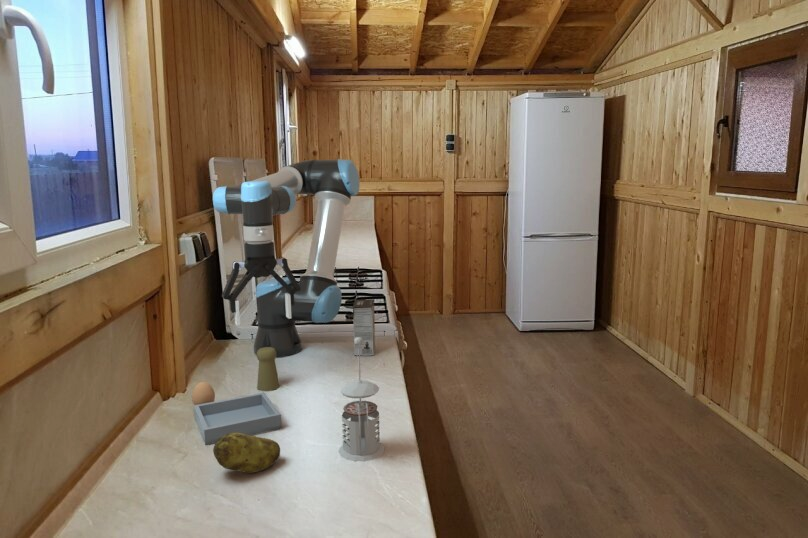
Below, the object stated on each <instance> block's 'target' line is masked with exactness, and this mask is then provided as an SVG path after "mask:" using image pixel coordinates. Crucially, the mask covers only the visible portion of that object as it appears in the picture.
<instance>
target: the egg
mask: <svg viewBox="0 0 808 538" xmlns="http://www.w3.org/2000/svg"><path fill="white" fill-rule="evenodd" d="M215 399H216V394H215V390H214V388H213V386H212V385H211V384H210V383H208V382H207V381H201V382H198V383H196V385H195V386H194V388H193V389H192V394H191V401H192V404H193V406H194V405H199V404H205V403H210V402H215Z"/></svg>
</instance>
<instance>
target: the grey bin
mask: <svg viewBox="0 0 808 538" xmlns="http://www.w3.org/2000/svg"><path fill="white" fill-rule="evenodd" d="M193 416H194V421H195V423H197V424H196V425H197V428H198V431H199V430H200V431H199V434H200V435H201V438H202V441H203V443H204V445H205V446H208V445H212V444H215V443H216V442H217V440H218V439H219V438H221V437H223V436H225V435H227V434H230V433H242V434H246V435H250V436H255V435H259V434H264V433H268V432H273V431H277V430H282V427H283V426H282V414H281V413H280V411H279V410H278V409H277V407H276V405H274V403H273V402H272V401H271V399H270V397H269V396H268V395H267V394H266V392H259V393H253V394H249V395H243V396H238V397H232V398H227V399H221V400H216V401H215V400H214V402H210V403H205V404H199V405H194V404H193Z"/></svg>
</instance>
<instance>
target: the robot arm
mask: <svg viewBox="0 0 808 538" xmlns="http://www.w3.org/2000/svg"><path fill="white" fill-rule="evenodd" d="M359 176H360V175H359V172H358V168H357V166H356V165H355V163H354V162H353V161H352V160H350V159H341V158H338V159H307V160H306V159H305V160H302V161H299V162H295V163H293V164H292V163H291V164H288V165H285V166H283V167H281V168H280V169H279V170H278V171H277V172H275V173H271V174H268V175H265V176H263V177H260V178H256V179H253V180H249V181H245V182H244V181H243V182H242V183H240V184H237V185H233V186H228V185H226V186H219V187H217V188H216V189H215V190H214V192H213V194H212V195H213V196H212V204H213V207H214V209H215V211H216V212H218V213H219V214H227V215H232V214H233V215H242V221H243V222H242V227H243V228H242V229H243V240H244V241H245V243H244V246H243V247H244V261H243V262H240V261H239V262H238V261H233V262H232V270H231V272H230V274H229V277H228V280H227V281H226V284H225V287H224V289H223V291H222V293H221V298H223V299H224V300H227V301H229V311H230V312H231V313H232V314H234V323H235V325H236V326H241V319H240V303H239V299H237V298H238V297H239V296H240V294H241V293H242V292H243V290H244V289H245V287H246V286H247V285H248V283H249V282H250V281H251V280H252V279H253V278H255V279H258V278H262V277H263V278H267V277H268V278H269V276H272V277H273V278H271V279H270V278H269V279H266V280H263V281H260V282H259V283H258V284H257V285H256V286H255V288H256V289H255V299H256V301H255V302H256V313H257V315H256V316H257V332H256V335H255V339H254V342H253V353H254V354H255V355H256V356H257V351H258V350H259V349H260V348H263V347H272V348H274V349H275V350H276V358H282V357H287V356H292V355H295V354H298V353H299V352H300V351H301V350H302V345H303V344H302V340H301V337H300V334H299V331H298V329H297V327H296V322H309V323H316V324H319V323H325V324H326V323H327V324H328V323H330V322H332V321H333V320H334V319H335V318H336V317H337V315H338V313H339V312H340V310H341V305H342V298H343V297H342V291H341V287H339V286H338V281H337V280H336V278H335V277H334V275H335V274H334V273H335V268H336V262H337V256H338V249H339V244H340V237H341V231H342V225H343V219H344V214H345V213H344V212H345V207H346V206H348V205H349V204H350V203H351V199H352V197H355V196H357V195H358V193H359V192H360V177H359ZM296 195H312V196H314V198H315V199H316V201H317V202H318V203H317V208H316V213H315V219H314V226H313V229H312V230H313V231H312V237H311V243H310V248H309V254H308V260H307V261H308V262H307V266H306V271H305V273H303V274H300V277H299V282H297V279H296V277H295V275H294V274H293V273H292V271H291V269H290V267H289V264H288V259H287V258H286V257H284V256H281V257H280V258H276V257H275V255H276V253H275V242H274V241H273V240H274V239H275V238H274V225H273V224H274V223H273V220H274V219H273V216H278V215H285V214H287V213H290V212H291V211H293V210H294V209H295V206H296V204H297V197H296ZM277 265H278V266H279V267H281V269H282V270H283V272H284V273H285V275H286V276H285V277H281V276H280V275H279V274H278V272H276V271H275V268H276V267H277ZM242 268H244V269H245V270H246V272H245V273H244V275H243V276H242V278H241V280H240V281H239V282H238V284H237V285H236V286H235V288H234V285H235V282H236V281H237V278H238V276H239V273H240V271H242ZM233 288H234V289H233Z"/></svg>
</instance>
